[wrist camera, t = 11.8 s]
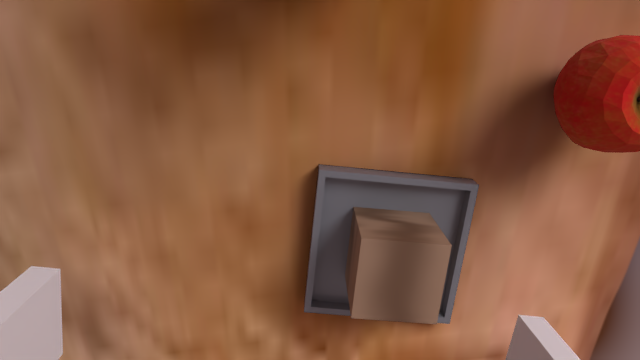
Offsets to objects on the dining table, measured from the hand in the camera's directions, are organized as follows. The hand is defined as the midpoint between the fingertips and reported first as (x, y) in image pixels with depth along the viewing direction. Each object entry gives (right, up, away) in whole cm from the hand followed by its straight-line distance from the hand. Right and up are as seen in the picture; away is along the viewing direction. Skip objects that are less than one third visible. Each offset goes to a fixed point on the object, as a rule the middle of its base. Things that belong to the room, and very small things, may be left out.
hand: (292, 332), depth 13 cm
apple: (+23, +12, +27) cm, 37 cm away
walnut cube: (+7, -2, +30) cm, 30 cm away
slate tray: (+7, -2, +30) cm, 31 cm away
